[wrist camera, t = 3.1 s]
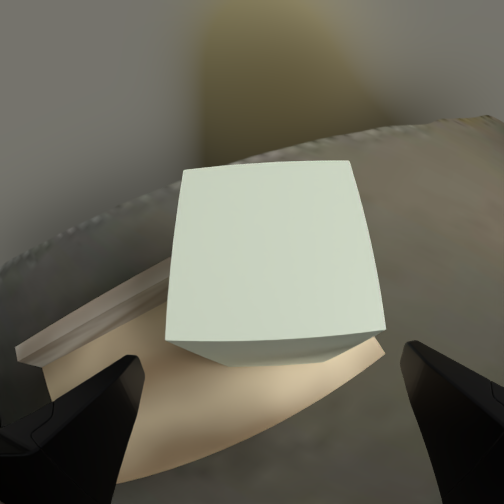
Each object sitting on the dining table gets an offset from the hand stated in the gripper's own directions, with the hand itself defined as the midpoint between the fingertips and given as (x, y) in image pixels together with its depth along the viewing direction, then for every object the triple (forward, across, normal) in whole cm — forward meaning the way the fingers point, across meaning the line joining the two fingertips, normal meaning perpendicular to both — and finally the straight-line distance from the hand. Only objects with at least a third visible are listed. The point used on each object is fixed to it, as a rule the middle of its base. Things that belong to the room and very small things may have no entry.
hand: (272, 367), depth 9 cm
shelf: (+8, +6, +7) cm, 12 cm away
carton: (+9, 0, +4) cm, 10 cm away
